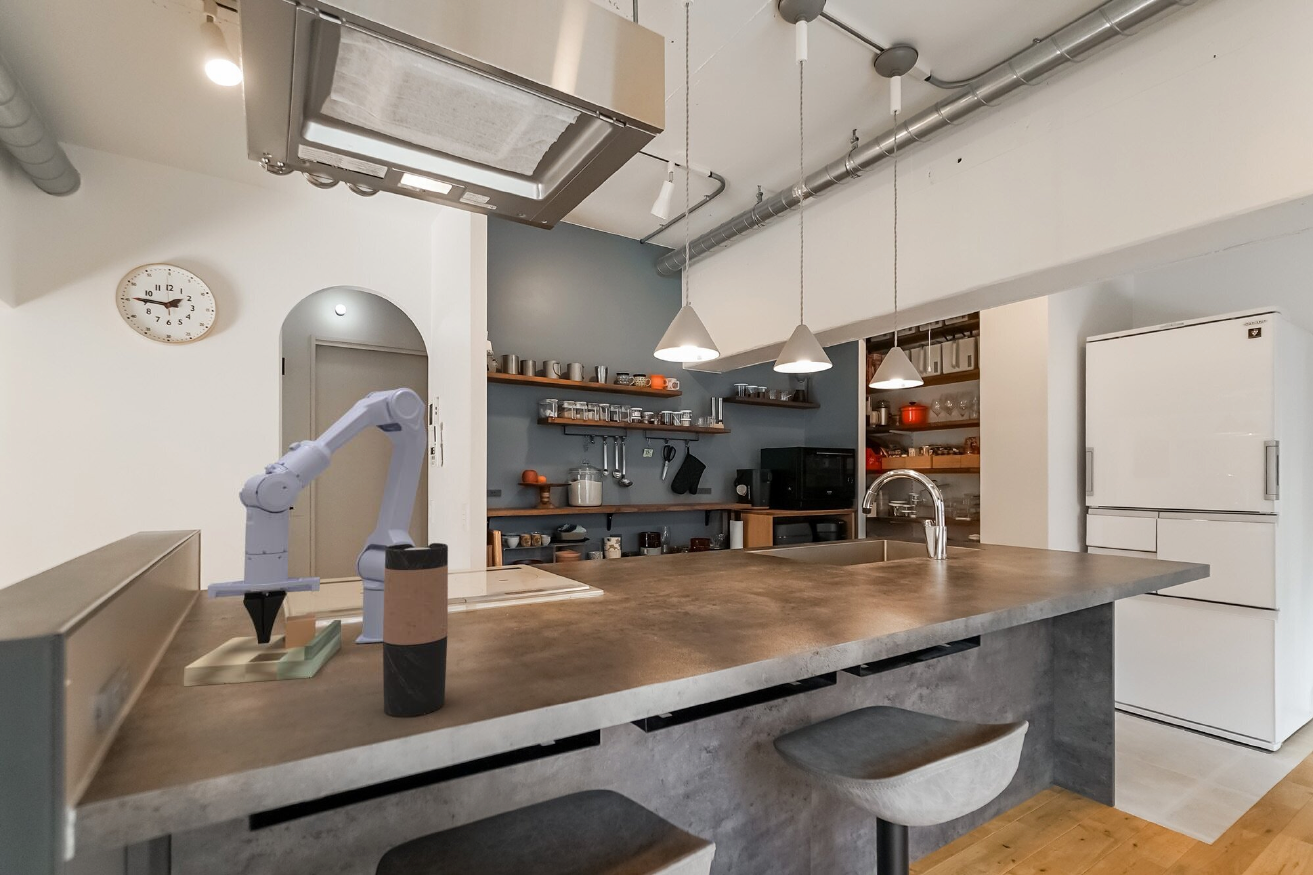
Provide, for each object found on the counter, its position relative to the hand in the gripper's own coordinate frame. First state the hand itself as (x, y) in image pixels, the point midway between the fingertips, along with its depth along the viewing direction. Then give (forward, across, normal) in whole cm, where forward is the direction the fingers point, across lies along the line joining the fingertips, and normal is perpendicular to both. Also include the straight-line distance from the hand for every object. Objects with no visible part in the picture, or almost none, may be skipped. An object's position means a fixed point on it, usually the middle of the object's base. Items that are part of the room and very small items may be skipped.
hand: (264, 642), depth 97 cm
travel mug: (+4, -20, +27) cm, 34 cm away
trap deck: (+3, -1, 0) cm, 4 cm away
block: (+1, -5, -1) cm, 5 cm away
